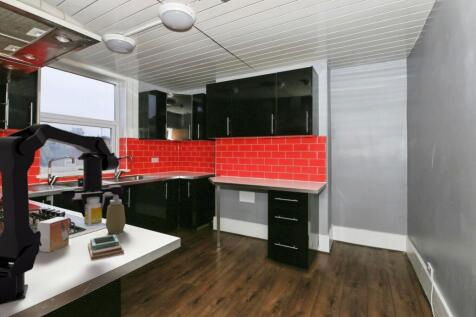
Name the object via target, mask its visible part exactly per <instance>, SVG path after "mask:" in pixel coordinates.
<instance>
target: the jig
mask: <svg viewBox="0 0 476 317" xmlns="http://www.w3.org/2000/svg"><path fill="white" fill-rule="evenodd" d="M87 247H88V253H89V256H90V260H91V261H92V260H98V259H103V258H107V257H111V256H117V255H121V254H124V253H125V252H124V251H125V250H124V247H122V245H121V243H120V240H119V239H118V237H117V235H116V234H110V235H105V236H97V237H92V238H91V237H90V241H89V243H88V242H87Z"/></svg>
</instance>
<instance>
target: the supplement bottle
mask: <svg viewBox="0 0 476 317" xmlns="http://www.w3.org/2000/svg"><path fill="white" fill-rule="evenodd" d="M100 201H101V198H100V196H89V197H87V198H86V204H84V205H83V206H84V212H85V217H83V218H84V221H83V223H84V226H85V227H96V226H100V225H101V224H102V221H103V215H102V203H101V202H100Z"/></svg>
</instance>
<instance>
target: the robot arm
mask: <svg viewBox="0 0 476 317" xmlns="http://www.w3.org/2000/svg"><path fill="white" fill-rule="evenodd" d="M47 141H49V142H53V143H59V144H62V145H65V146H71V147H73V148H75V149H76V150H77V151H80V152H81V153H82V154H81V155H79V156H78V157H77V160H78V161H82V166H83V169H82V171H83V173H82V174H83V177H77V188H82V189H77V190H76V189H75V188H74V187H73V188H72V187H71V188H62V189H61V190H60V196H59V197H60V200H61V201H65V200H71V202H75V203H76V204H77V206H78V208H79V209H80V210H79V211H80V212H81V215H82V218H84V217H85V212H84V206H85V205H84V202H83V200H84V199H83V198H82V196H89V195H101V194H102V203H101V204H102V216H103V215H104V213H105V211H106V209H107V208H108V204H110V200H112V199H113V197H114V195H118V196H119V195H124V187H122V186H121V185H119V184H115V185H109V186H108V187H106V188H105V187H104V188H103V172H105V171H113V170H116V169H118V168H119V167H120V160H119V158H118V157H117V156H116V155H115V152H111V150H110V148H109V147H108V146H107V143H106V142H105V139H104V138H103V137H102V136H94V135H93V136H92V135H81V134H79V133H76V132H72V131H68V130H65V129H63V128H58V127H55V126H52V125H50V124H49V123H32V124H31V125H29V126H27V127H26V128H22V129H20V130H16V131H15V132H12V133H9V134H7V135H6V136H0V176H1V196H2V198H1V199H2V217H3V219H2V220H3V231H2V232H1V234H0V305H1V304H5V303H9V302H13V301H17V300H20V299H21V300H22V299H24V298H26V295H27V292H28V287H29V284H27V283H26V282H25V280H26V278H25V274H26V273H27V272H29V271H31V270H33V268H34V266H35V263H36V259H37V256H38V255H39V252H40V251H39V249H40V247H39V246H42V244H41V241H40V238H41V232H40V231H37V230H34V229H33V228H32V227H31V223H30V222H31V221H30V200H29V199H30V198H29V197H30V195H29V177H28V176H29V170H30V169H31V167H32V166H33V164H34V162H35V159H36V152H37V151H38V150H40V149H42V148H43V147H44V146H45V144H46V143H47ZM25 283H26V284H25Z"/></svg>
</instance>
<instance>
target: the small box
mask: <svg viewBox="0 0 476 317" xmlns="http://www.w3.org/2000/svg"><path fill="white" fill-rule="evenodd" d="M36 228H37V230H36V231H40V232H41V238H40V241H41V244H42V246H39V247H40V249H39V252H43V253H44V252H46V253H51V252H53V251H56V250H58V249H60V248H63V247H66V246H69V245H70V218H69V217H64V216H63V217H62V216H55V217H53V218H50V219H45V220H42V221H37V224H36Z"/></svg>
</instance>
